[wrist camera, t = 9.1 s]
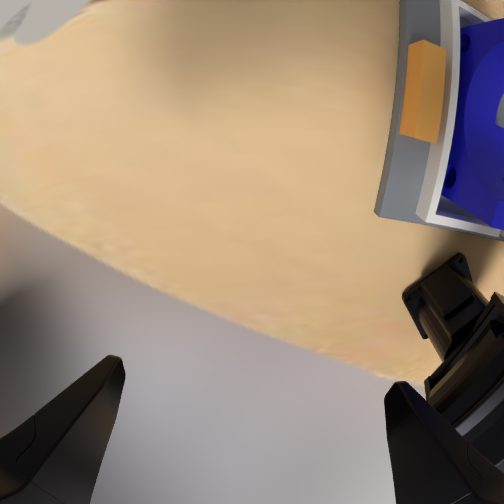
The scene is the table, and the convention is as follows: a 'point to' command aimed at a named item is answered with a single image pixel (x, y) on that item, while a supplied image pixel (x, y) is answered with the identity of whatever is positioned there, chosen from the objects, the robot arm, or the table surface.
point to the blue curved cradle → (479, 126)
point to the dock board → (409, 149)
